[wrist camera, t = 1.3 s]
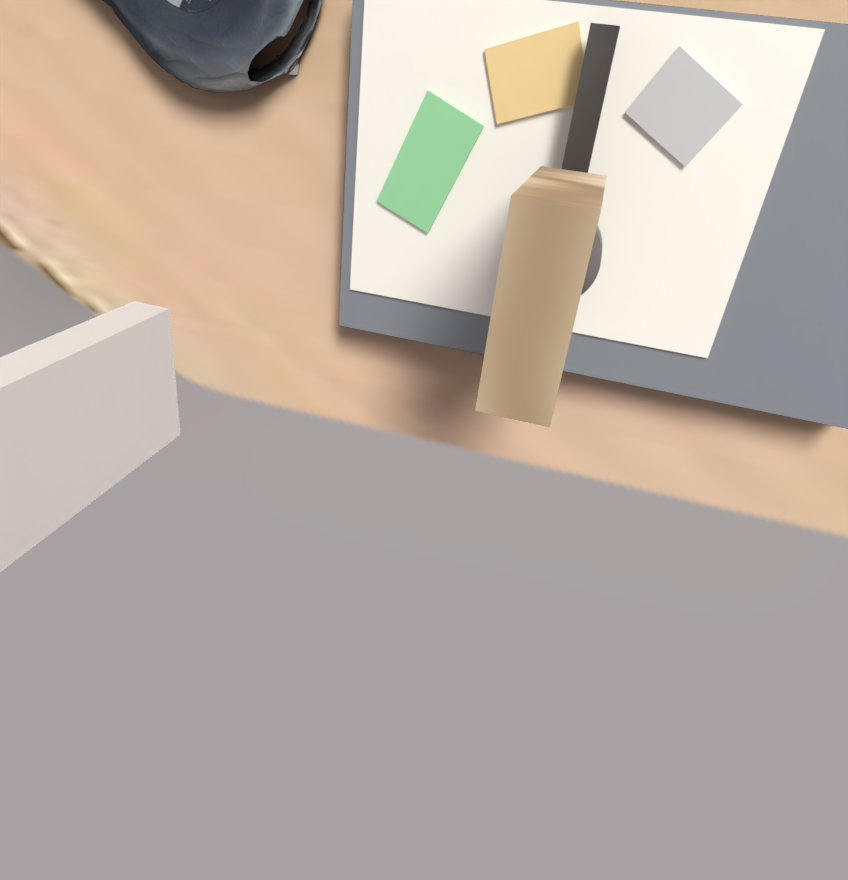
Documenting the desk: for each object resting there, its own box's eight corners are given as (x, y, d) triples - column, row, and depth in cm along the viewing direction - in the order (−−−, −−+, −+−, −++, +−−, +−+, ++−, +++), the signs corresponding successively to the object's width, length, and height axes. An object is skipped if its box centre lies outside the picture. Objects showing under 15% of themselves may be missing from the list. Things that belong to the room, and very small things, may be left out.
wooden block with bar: (505, 314, 27) (458, 407, 19) (557, 22, 21) (522, -14, 14) (583, 329, 26) (566, 431, 18) (656, 32, 21) (675, 2, 13)
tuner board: (354, 312, 31) (335, 327, 29) (372, -19, 24) (350, -29, 22) (848, 410, 27) (866, 436, 25) (1028, 49, 20) (1072, 45, 18)
